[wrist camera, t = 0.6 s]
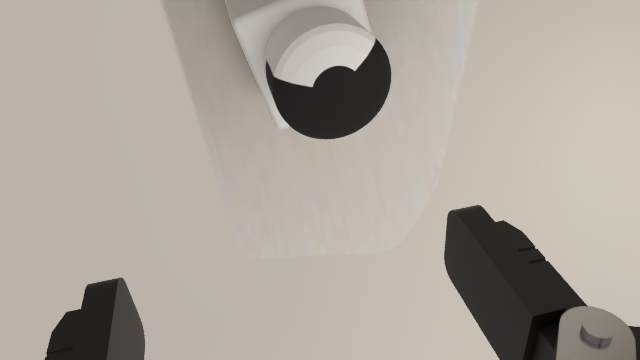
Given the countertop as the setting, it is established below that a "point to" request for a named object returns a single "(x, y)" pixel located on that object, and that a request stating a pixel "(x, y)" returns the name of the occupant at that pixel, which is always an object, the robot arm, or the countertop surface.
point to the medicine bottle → (313, 62)
